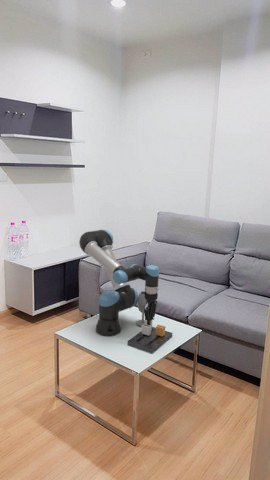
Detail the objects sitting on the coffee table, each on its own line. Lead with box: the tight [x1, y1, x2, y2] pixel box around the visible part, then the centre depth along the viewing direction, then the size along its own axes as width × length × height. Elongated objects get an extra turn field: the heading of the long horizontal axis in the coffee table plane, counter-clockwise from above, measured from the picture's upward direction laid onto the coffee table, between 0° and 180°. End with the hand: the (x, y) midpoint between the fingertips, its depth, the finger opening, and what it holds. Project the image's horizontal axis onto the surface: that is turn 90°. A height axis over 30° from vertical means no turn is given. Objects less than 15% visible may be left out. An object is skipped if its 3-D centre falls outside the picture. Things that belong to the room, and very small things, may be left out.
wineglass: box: [135, 290, 147, 328], centre depth 227 cm, size 9×9×21 cm
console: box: [127, 326, 173, 354], centre depth 208 cm, size 16×24×2 cm, turn 148°
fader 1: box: [141, 324, 151, 336], centre depth 210 cm, size 4×3×5 cm
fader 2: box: [155, 324, 166, 336], centre depth 210 cm, size 4×3×5 cm
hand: (149, 329), depth 214 cm, fingers closed
